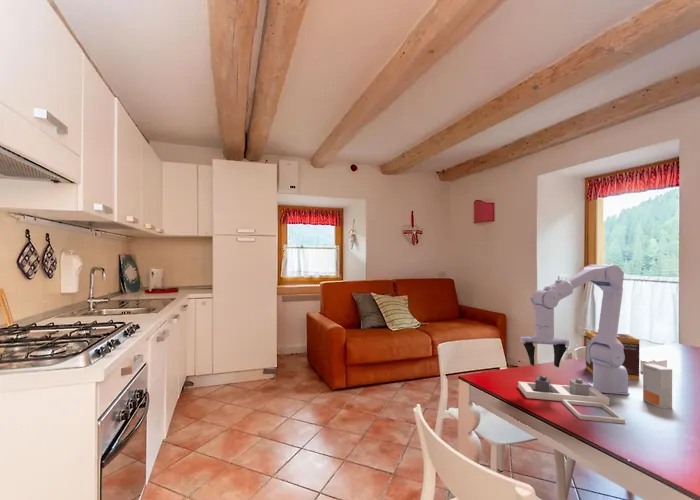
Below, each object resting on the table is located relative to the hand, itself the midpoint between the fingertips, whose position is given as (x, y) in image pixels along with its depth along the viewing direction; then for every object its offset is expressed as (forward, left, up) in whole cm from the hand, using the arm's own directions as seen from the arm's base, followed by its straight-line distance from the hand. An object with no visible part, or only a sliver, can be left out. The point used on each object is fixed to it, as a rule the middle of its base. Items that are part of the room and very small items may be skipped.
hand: (544, 365), depth 118 cm
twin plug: (-10, +1, -9) cm, 14 cm away
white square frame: (-9, +13, -9) cm, 18 cm away
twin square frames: (-5, +1, -9) cm, 11 cm away
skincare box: (-33, +1, -10) cm, 34 cm away
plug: (+1, +1, -9) cm, 9 cm away
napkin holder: (-53, -38, -10) cm, 66 cm away
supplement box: (-35, -30, -10) cm, 47 cm away
